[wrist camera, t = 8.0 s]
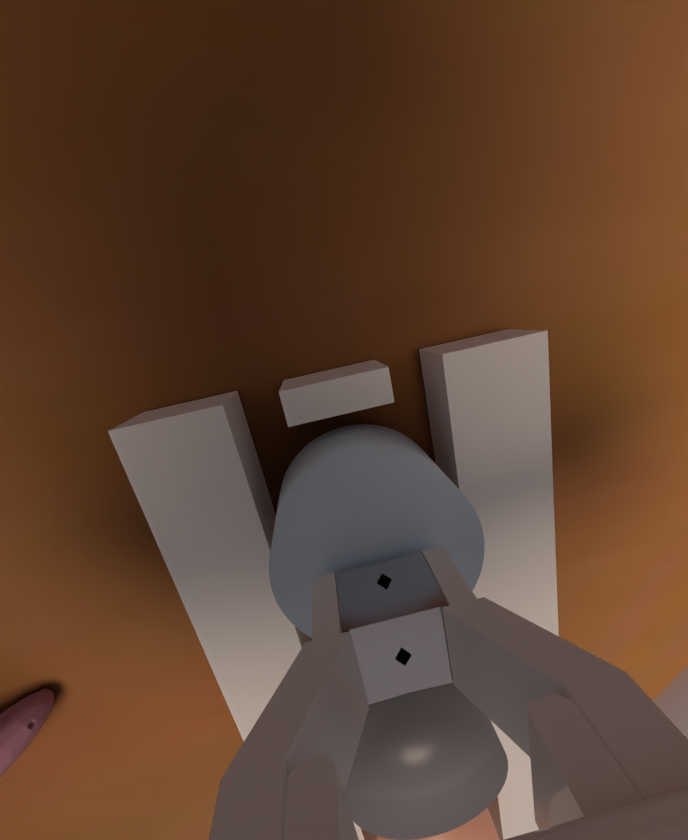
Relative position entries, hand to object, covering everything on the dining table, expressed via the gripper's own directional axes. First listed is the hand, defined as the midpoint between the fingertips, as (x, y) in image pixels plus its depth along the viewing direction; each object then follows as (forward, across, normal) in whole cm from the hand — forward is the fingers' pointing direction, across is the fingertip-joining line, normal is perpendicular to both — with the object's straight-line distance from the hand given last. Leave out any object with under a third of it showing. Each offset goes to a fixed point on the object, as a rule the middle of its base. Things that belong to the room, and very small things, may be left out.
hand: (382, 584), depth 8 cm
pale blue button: (+3, 0, 0) cm, 3 cm away
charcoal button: (+3, 0, +8) cm, 8 cm away
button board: (+5, 0, +8) cm, 9 cm away
